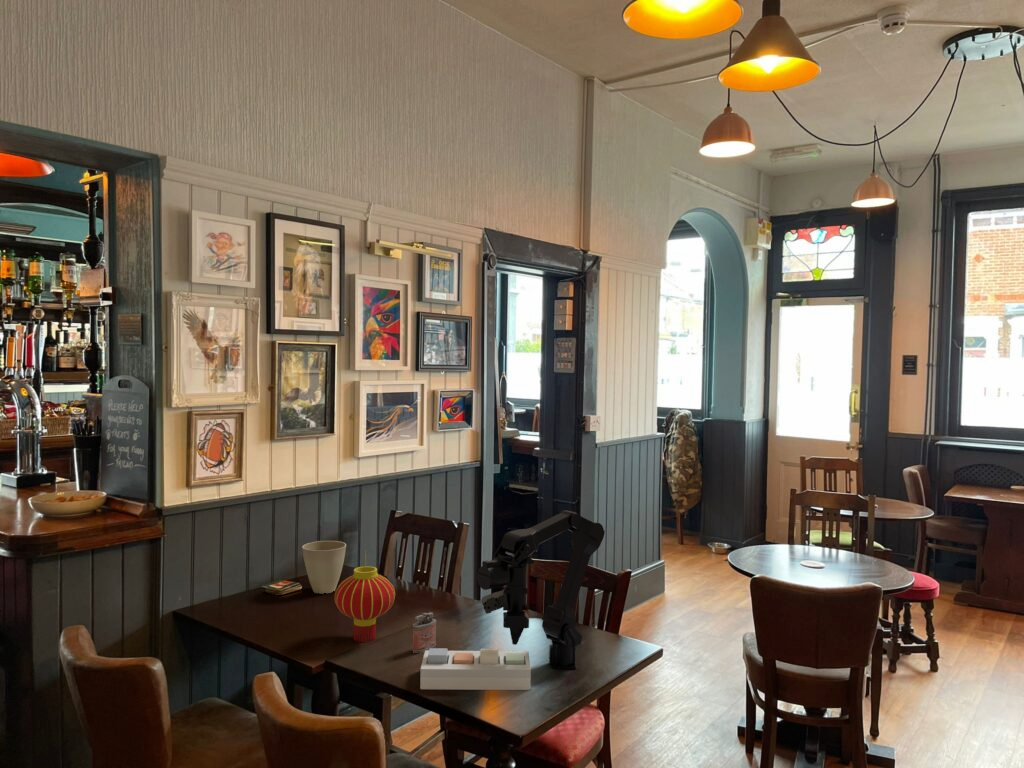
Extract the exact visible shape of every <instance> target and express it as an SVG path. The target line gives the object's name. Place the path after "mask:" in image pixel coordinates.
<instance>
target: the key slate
mask: <svg viewBox="0 0 1024 768" xmlns="http://www.w3.org/2000/svg"><path fill="white" fill-rule="evenodd" d="M448 651H449V650H448V648H447V647H446V648H442V647H441V648H439V647H437V648H436V647H435V648H430V649H429V653H428V664H447V657H448Z"/></svg>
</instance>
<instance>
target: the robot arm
mask: <svg viewBox="0 0 1024 768" xmlns="http://www.w3.org/2000/svg"><path fill="white" fill-rule="evenodd" d="M567 530H568V531H570V532H571V538H570V539H571V543H572V544H571V545H572V553H571V556H570V559H569V562H568V565H567V567H566V570H565V571H566V572H565V575H564V578H563V581H562V583H561V586H560V590H559V593H558V596H557V599H556V601H555V602H554V603H553V604H552V605H549V604H548V605H546V607H545V611H544V614H543V617H542V618H541V621H542V623H541V628H542V629H543V631H544V634H545V636H546V639H547V640H550V641H551V644H549V645H548V662H549V664H550V666H551V669H563V670H565V669H570V670H572V669H573V670H575V669H577V665H576V664H577V663H576V652H577V651H576V650H577V649H576V648H577V646H579V645H581V644H582V640H583V635H581V633H580V632H579V631H578V630H577V629H576V623H577V616H576V612H575V611H576V610H575V607H576V604H577V600H578V597H579V593H580V590H581V587H582V584H583V581H584V578H585V575H586V572H587V568H588V566H589V563H590V559H591V556H592V555H593V554H594V553H595V552H596V551H598V549H600V547H601V544H602V541H603V540H604V537H605V532H606V531H605V529H604V526H603V525H602V524H601V523H599V522H596V521H593V520H590V519H587V518H585V517H583V516H582V515H580V514H578V513H577V512H574V511H572V510H562V511H560V512H559V513H557V514H555V515H553V516H551V517H549V518H548V519H546V520H544V521H542V522H539V523H538V524H535V525H533V526H531V527H528V528H522V529H515V530H511V531H508V532H506V533H505V534H504V535H503V536H502V540H501V542H500V543H499V545H498V547H497V549H496V550H495V552H494V554H493V556H492V559H491V560H483V561H482V564H481V565H482V566H480V567H479V568H478V571H477V572H476V579H477V580H476V581H477V584H478V586H479V587H480V588H481V589H482V590H483V591H487V590H491V589H498V588H501V587H502V590H499V591H496V592H492V593H490V594H487V595H484V596H482V597H481V604H482V607H483V610H484V612H485V614H491V613H492V612H495V611H498V610H500V609H502V611H504V612H503V613H502V616H503V619H502V623H503V626H502V627H503V628H504V629H509V632H510V637H511V644H512V645H514V646H517V645H518V642H519V640H520V638H521V636H522V633H523V632H524V629H528V628H530V618H529V615H528V613H527V612H526V611H528V601H527V600H528V566H530V565H534V564H535V560H534V559H532V558H531V556H530V555H533V553H534V552H535V551H536V550H537V549H538V546H539V545H541V544H543V543H545V542H546V541H548V540H550V539H553V538H554V537H556V536H558V535H560V534H562V533H563V532H565V531H567ZM506 554H507V555H506Z"/></svg>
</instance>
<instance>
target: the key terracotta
mask: <svg viewBox="0 0 1024 768" xmlns="http://www.w3.org/2000/svg"><path fill="white" fill-rule="evenodd" d="M454 664H473V653H455V656H454Z"/></svg>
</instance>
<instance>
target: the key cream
mask: <svg viewBox="0 0 1024 768" xmlns="http://www.w3.org/2000/svg"><path fill="white" fill-rule="evenodd" d="M479 651H480V664H498V651H499V648H480V650H479Z"/></svg>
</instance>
